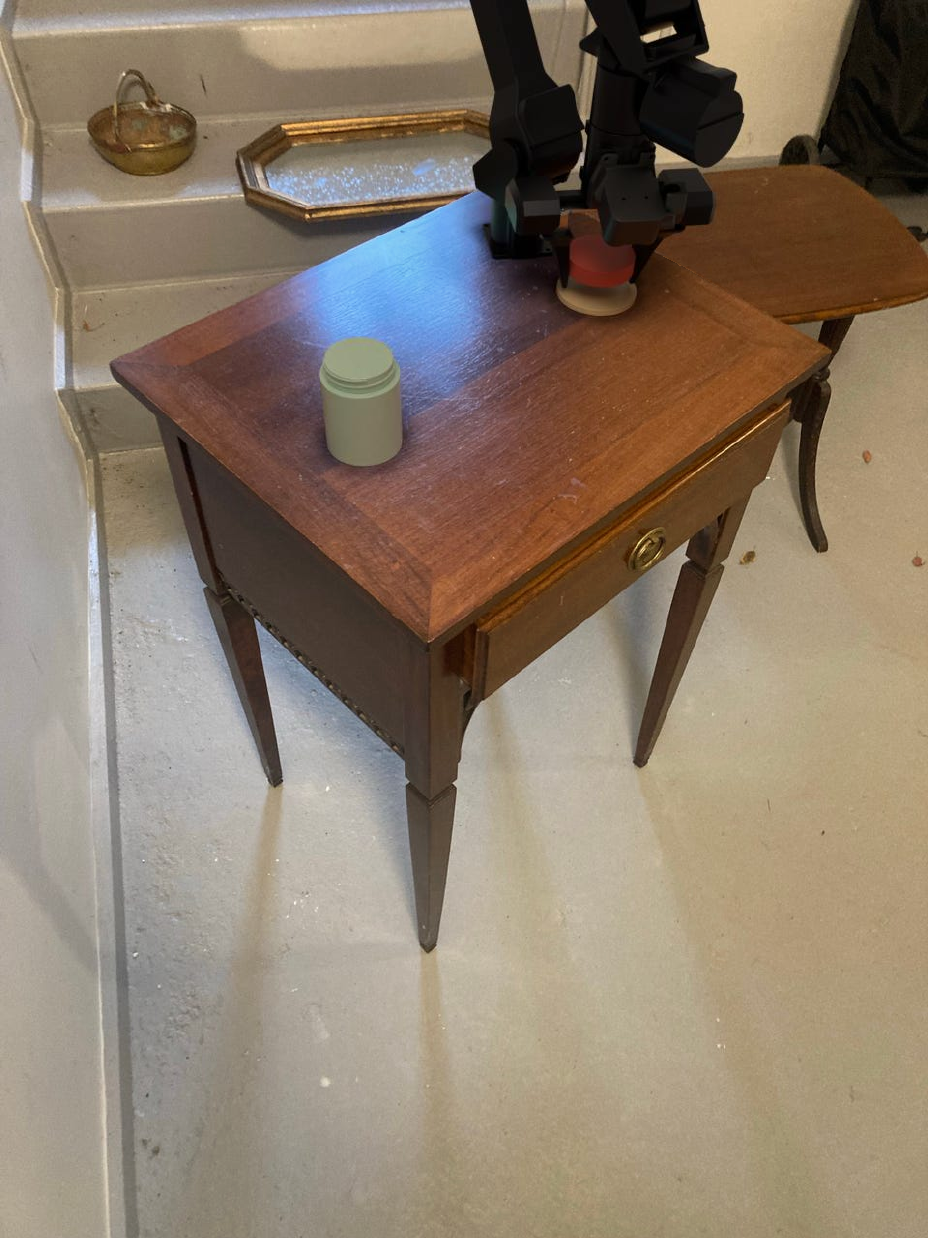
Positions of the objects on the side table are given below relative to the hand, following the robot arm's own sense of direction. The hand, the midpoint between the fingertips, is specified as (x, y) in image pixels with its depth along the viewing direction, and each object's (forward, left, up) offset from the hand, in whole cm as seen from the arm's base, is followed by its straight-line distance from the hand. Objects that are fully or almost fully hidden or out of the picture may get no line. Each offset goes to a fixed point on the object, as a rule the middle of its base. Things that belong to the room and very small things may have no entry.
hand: (596, 283), depth 93 cm
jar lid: (0, 0, +3) cm, 3 cm away
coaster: (0, 0, -1) cm, 1 cm away
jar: (+19, -25, -1) cm, 32 cm away
